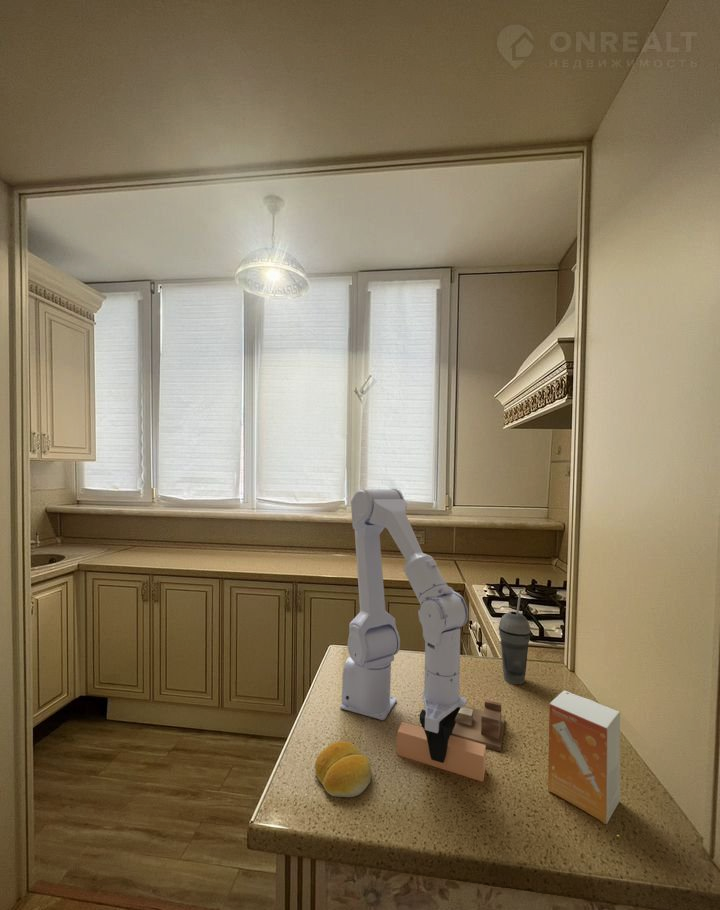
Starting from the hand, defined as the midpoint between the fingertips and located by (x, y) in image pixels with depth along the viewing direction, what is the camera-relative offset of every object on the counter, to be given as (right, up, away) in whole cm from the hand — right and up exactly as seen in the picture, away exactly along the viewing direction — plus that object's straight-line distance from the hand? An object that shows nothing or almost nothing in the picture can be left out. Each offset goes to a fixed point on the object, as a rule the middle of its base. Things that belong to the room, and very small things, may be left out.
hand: (440, 752), depth 66 cm
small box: (+20, -2, -7) cm, 21 cm away
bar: (0, -2, 0) cm, 2 cm away
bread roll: (-16, -1, -4) cm, 17 cm away
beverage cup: (+23, -4, +28) cm, 36 cm away
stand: (+7, -2, +10) cm, 12 cm away
